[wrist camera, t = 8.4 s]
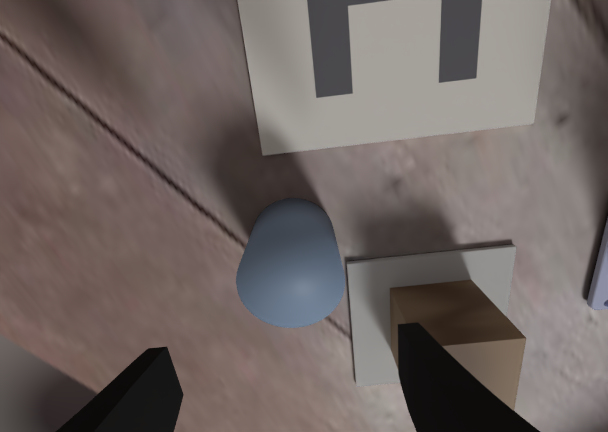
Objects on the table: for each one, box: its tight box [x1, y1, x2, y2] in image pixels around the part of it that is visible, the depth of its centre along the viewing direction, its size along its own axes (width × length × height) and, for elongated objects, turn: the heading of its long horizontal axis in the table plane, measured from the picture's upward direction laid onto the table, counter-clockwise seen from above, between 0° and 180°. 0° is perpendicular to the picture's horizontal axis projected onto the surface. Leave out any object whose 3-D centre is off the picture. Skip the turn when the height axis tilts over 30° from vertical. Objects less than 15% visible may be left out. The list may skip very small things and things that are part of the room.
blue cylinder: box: [236, 198, 345, 328], centre depth 16 cm, size 5×5×5 cm
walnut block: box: [390, 280, 526, 411], centre depth 18 cm, size 5×5×5 cm
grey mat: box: [347, 244, 516, 387], centre depth 20 cm, size 10×10×1 cm
